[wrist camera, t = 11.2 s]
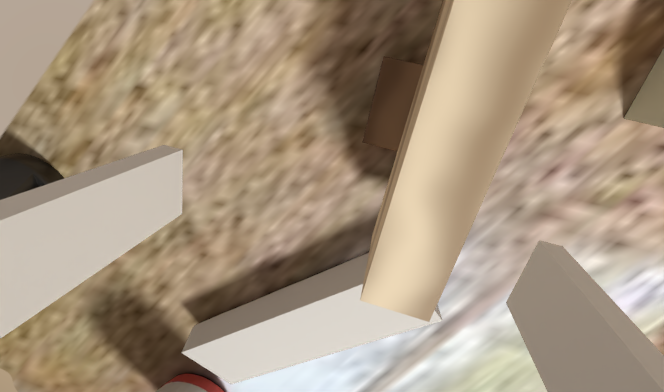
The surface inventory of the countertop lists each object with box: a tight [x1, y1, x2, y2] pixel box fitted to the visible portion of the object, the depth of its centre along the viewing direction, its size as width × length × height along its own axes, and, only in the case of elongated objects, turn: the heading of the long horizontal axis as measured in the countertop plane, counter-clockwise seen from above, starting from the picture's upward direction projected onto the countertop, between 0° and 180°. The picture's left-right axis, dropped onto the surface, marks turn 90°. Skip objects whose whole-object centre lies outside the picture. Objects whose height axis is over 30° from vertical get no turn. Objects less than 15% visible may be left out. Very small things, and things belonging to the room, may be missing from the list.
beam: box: [360, 0, 572, 322], centre depth 22 cm, size 5×24×10 cm, turn 168°
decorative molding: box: [181, 253, 442, 384], centre depth 43 cm, size 34×5×10 cm
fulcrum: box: [363, 57, 423, 151], centre depth 29 cm, size 12×8×5 cm, turn 78°
